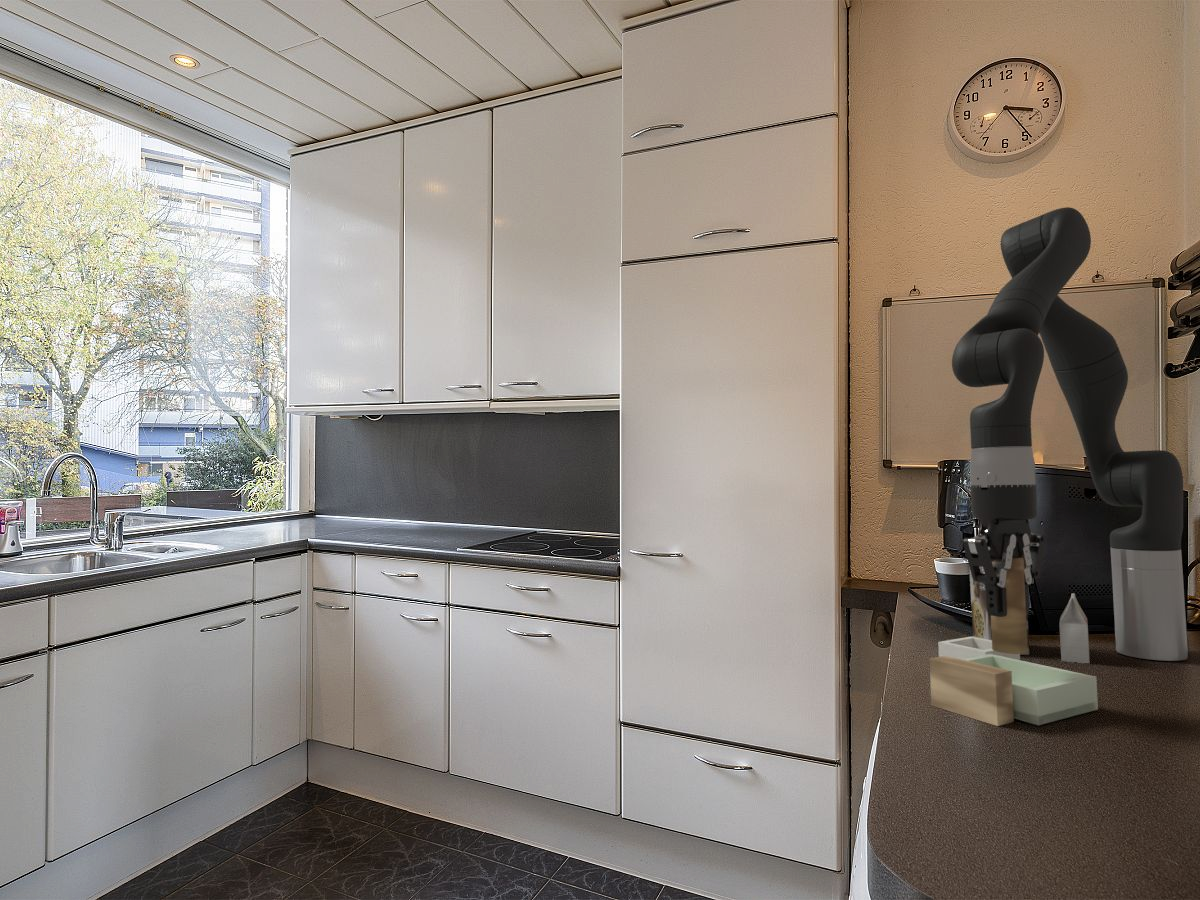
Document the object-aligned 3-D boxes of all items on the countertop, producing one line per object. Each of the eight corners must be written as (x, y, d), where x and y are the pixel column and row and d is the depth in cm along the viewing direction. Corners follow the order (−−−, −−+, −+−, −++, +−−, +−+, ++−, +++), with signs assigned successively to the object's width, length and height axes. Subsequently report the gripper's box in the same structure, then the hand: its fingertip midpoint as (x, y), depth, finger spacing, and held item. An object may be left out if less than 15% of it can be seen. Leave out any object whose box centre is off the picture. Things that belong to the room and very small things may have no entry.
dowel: (1005, 645, 94) (1000, 555, 95) (1034, 651, 91) (1030, 558, 92) (985, 649, 93) (981, 557, 93) (1015, 655, 89) (1010, 559, 90)
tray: (992, 682, 100) (990, 653, 100) (1098, 709, 88) (1096, 676, 88) (934, 694, 95) (932, 664, 95) (1038, 725, 82) (1036, 690, 83)
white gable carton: (1061, 661, 112) (1058, 597, 113) (1062, 652, 118) (1059, 592, 118) (1089, 664, 110) (1086, 599, 111) (1089, 655, 116) (1086, 593, 116)
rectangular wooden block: (947, 702, 92) (945, 655, 93) (1013, 721, 84) (1011, 670, 85) (931, 705, 91) (929, 658, 91) (997, 726, 83) (995, 674, 83)
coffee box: (1031, 655, 116) (1026, 556, 117) (988, 654, 117) (984, 556, 118) (1011, 643, 125) (1006, 551, 126) (971, 642, 126) (967, 551, 127)
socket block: (972, 658, 115) (971, 636, 115) (1020, 669, 108) (1019, 645, 108) (939, 664, 111) (938, 641, 112) (986, 676, 104) (985, 652, 104)
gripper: (1009, 482, 99) (1015, 605, 98) (940, 483, 93) (946, 615, 92) (1064, 481, 93) (1071, 613, 92) (994, 482, 86) (1000, 624, 85)
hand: (1008, 613), depth 92 cm, fingers closed on dowel, 4 cm apart
